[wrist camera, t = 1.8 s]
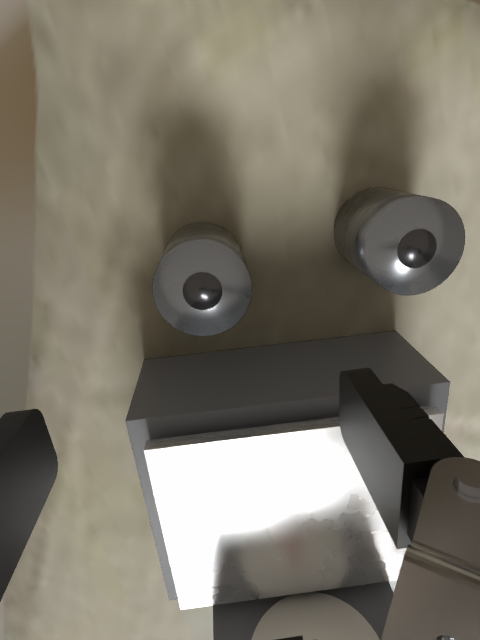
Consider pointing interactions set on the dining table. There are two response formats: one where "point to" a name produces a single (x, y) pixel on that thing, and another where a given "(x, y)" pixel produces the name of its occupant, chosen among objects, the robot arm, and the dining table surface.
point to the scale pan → (268, 513)
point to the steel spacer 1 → (202, 280)
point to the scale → (262, 410)
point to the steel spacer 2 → (400, 239)
